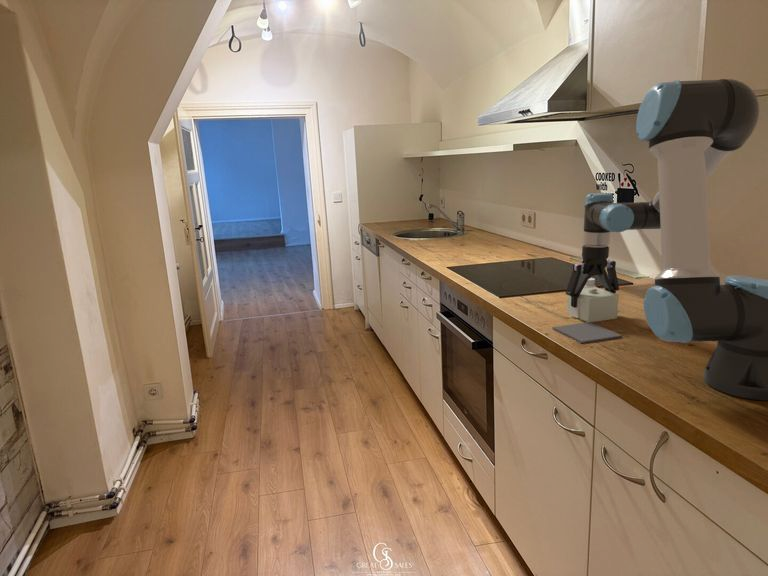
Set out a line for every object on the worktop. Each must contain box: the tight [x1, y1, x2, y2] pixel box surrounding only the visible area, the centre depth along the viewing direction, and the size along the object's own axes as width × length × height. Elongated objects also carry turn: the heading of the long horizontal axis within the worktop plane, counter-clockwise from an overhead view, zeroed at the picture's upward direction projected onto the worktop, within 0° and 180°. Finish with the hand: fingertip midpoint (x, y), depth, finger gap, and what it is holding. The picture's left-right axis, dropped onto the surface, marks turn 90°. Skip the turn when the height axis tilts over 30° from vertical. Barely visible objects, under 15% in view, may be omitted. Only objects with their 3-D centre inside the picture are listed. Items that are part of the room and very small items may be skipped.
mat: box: [552, 321, 623, 344], centre depth 143 cm, size 13×13×1 cm
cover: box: [566, 286, 620, 323], centre depth 158 cm, size 10×10×8 cm
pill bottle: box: [583, 277, 597, 289], centre depth 170 cm, size 5×5×9 cm
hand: (590, 314), depth 159 cm, fingers closed on cover, 10 cm apart
